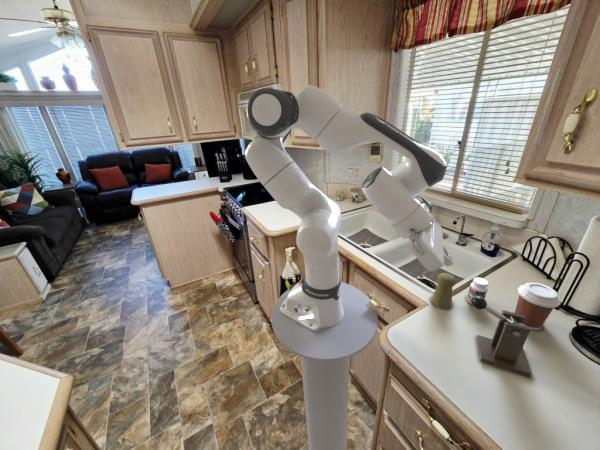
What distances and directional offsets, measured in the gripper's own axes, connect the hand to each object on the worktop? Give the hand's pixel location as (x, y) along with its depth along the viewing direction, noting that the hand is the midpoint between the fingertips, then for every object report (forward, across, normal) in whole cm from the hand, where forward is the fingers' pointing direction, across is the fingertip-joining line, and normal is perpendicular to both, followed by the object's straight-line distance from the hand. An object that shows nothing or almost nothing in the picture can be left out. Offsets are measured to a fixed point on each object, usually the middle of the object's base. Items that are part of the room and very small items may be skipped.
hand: (450, 262), depth 62 cm
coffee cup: (+36, +16, 0) cm, 39 cm away
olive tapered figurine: (+19, +15, +16) cm, 30 cm away
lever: (+17, -1, +2) cm, 17 cm away
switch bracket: (+29, -1, +7) cm, 30 cm away
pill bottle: (+26, +20, +10) cm, 35 cm away
